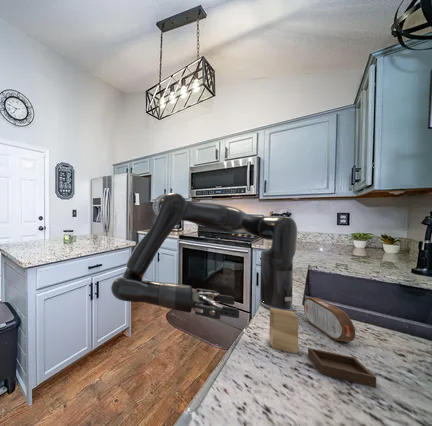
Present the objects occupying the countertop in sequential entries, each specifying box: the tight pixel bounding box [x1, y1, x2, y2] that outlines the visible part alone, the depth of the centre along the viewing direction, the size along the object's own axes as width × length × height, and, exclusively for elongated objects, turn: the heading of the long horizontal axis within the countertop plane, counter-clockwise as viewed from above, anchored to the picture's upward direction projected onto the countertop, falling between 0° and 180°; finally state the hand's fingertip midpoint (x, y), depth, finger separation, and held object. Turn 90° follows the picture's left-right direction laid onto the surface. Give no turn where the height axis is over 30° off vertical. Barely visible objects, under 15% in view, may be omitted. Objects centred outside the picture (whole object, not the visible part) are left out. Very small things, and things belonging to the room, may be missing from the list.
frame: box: [307, 347, 377, 388], centre depth 45 cm, size 6×8×2 cm
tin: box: [303, 297, 356, 343], centre depth 60 cm, size 15×3×8 cm, turn 168°
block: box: [268, 308, 299, 354], centre depth 53 cm, size 3×5×9 cm, turn 67°
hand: (236, 306), depth 57 cm, fingers open, 8 cm apart
